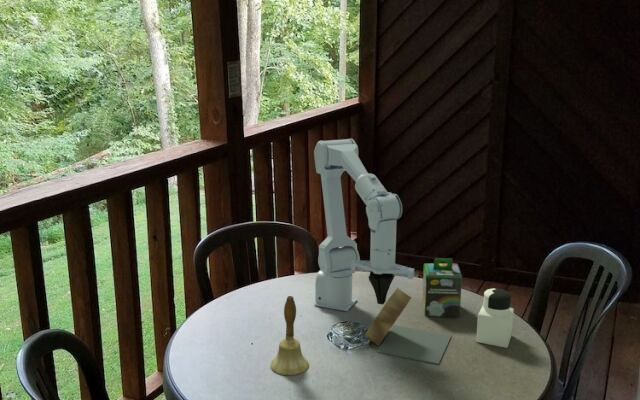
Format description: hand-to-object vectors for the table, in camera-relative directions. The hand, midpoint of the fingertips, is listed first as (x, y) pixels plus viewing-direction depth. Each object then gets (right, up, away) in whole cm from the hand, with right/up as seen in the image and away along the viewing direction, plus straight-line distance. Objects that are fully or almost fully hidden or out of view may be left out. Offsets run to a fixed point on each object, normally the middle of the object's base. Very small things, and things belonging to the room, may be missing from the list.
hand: (381, 302), depth 137 cm
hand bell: (-21, -12, -10) cm, 26 cm away
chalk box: (+17, -5, +17) cm, 25 cm away
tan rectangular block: (-1, -8, +2) cm, 8 cm away
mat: (+8, -9, -1) cm, 12 cm away
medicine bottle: (+27, -9, +2) cm, 28 cm away
